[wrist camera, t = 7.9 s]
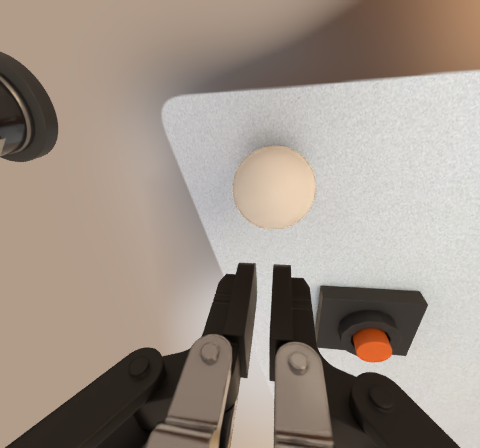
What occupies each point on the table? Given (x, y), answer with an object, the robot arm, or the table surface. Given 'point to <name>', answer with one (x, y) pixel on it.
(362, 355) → the button
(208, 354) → the robot arm
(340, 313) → the housing
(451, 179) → the table surface
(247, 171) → the lightbulb
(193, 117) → the table surface
